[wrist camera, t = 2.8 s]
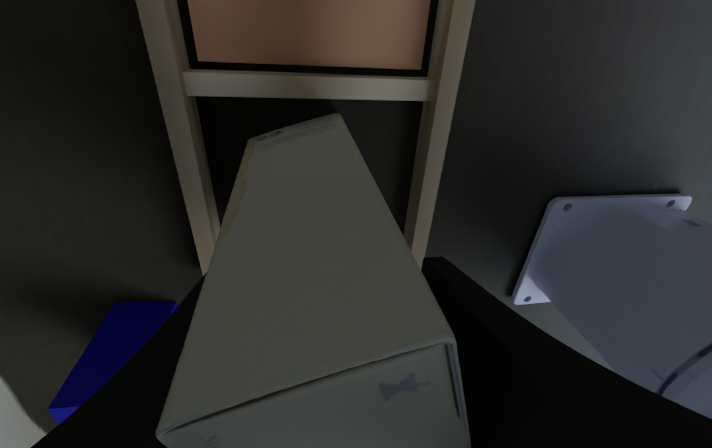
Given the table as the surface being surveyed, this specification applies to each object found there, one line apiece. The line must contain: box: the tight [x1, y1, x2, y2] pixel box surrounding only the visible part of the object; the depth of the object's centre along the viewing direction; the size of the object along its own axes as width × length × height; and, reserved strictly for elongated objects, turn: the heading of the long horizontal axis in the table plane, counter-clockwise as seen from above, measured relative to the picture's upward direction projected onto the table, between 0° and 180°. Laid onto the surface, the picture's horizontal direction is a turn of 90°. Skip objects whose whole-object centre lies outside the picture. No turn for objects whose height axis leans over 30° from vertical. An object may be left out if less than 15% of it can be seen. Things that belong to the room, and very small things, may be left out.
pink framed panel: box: [136, 0, 476, 276], centre depth 13 cm, size 11×19×2 cm, turn 177°
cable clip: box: [48, 301, 177, 425], centre depth 19 cm, size 12×4×6 cm, turn 173°
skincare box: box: [156, 113, 471, 448], centre depth 11 cm, size 6×4×12 cm
